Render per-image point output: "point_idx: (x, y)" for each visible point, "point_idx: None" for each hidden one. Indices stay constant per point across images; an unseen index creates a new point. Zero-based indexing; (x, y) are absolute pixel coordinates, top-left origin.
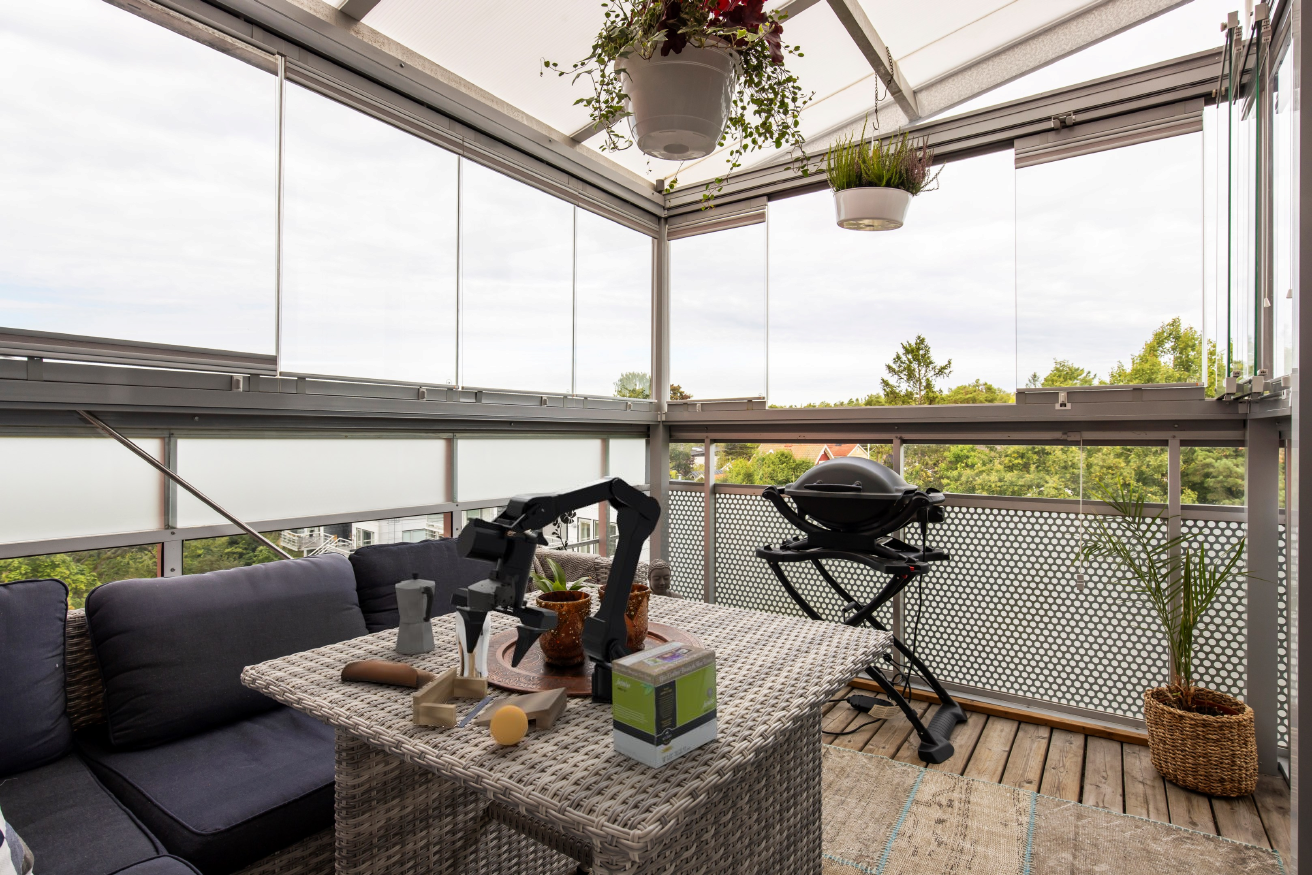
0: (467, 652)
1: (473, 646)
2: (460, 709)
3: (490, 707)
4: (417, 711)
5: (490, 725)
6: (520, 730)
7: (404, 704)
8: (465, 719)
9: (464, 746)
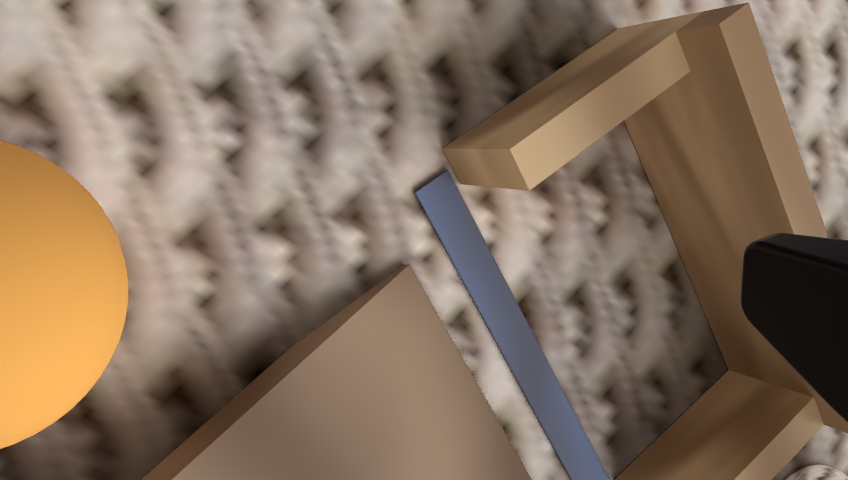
0: (768, 236)
1: (814, 342)
2: (597, 313)
3: (495, 443)
4: (654, 31)
5: (35, 154)
6: None
7: (806, 147)
8: (478, 259)
9: (174, 37)
